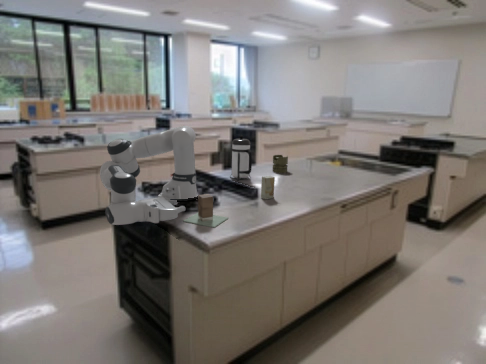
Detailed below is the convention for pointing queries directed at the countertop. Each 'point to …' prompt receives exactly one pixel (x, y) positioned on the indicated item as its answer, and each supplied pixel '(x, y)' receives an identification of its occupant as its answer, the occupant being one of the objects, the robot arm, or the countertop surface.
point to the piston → (280, 164)
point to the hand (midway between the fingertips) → (180, 205)
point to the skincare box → (267, 187)
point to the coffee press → (241, 158)
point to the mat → (211, 223)
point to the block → (205, 207)
